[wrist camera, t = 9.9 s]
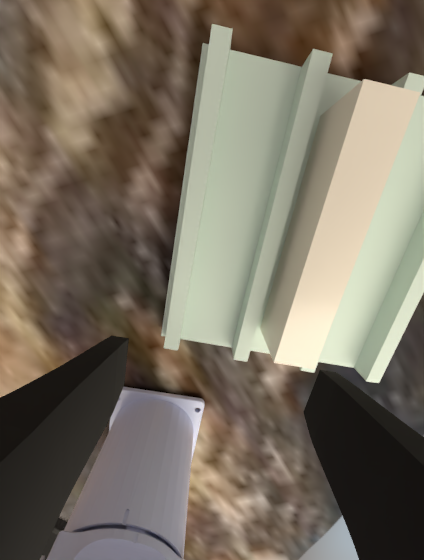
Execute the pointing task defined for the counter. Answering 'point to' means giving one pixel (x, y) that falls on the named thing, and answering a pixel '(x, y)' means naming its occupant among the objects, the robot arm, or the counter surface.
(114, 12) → the counter surface
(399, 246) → the ridged mint rail
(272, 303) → the clay strip
